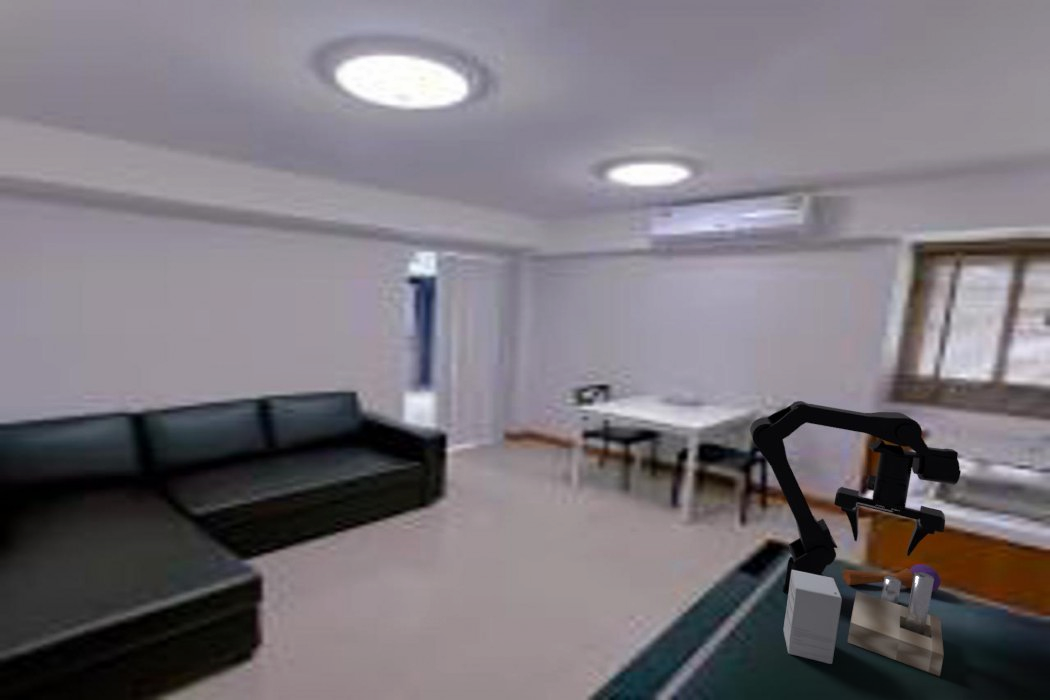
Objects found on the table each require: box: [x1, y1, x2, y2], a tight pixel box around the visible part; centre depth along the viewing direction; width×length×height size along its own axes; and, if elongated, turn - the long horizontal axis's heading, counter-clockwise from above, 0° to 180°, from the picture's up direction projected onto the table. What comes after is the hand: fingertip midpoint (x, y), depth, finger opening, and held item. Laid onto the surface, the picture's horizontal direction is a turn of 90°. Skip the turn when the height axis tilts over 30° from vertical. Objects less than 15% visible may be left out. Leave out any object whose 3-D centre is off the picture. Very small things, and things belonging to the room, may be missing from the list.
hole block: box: [847, 590, 944, 677], centre depth 106 cm, size 14×14×4 cm
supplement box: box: [782, 570, 843, 665], centre depth 102 cm, size 7×7×13 cm
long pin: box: [905, 572, 934, 635], centre depth 104 cm, size 3×3×14 cm
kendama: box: [842, 563, 941, 593], centre depth 126 cm, size 6×6×20 cm
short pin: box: [880, 576, 902, 605], centre depth 120 cm, size 3×3×5 cm
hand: (881, 547), depth 116 cm, fingers open, 9 cm apart
